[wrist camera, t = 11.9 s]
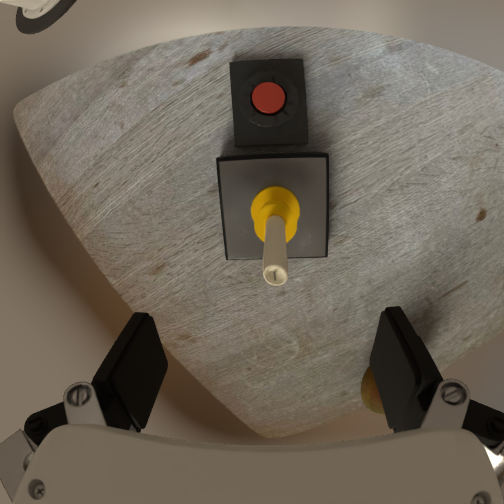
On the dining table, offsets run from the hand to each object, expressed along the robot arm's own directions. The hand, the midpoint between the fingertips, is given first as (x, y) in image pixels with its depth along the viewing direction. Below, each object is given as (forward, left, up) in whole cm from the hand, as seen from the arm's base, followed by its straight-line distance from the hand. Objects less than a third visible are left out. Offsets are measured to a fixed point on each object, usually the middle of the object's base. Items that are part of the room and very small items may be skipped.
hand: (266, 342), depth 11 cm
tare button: (-12, 0, -22) cm, 25 cm away
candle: (0, 0, -21) cm, 21 cm away
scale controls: (-12, 0, -24) cm, 27 cm away
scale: (0, 0, -24) cm, 24 cm away
